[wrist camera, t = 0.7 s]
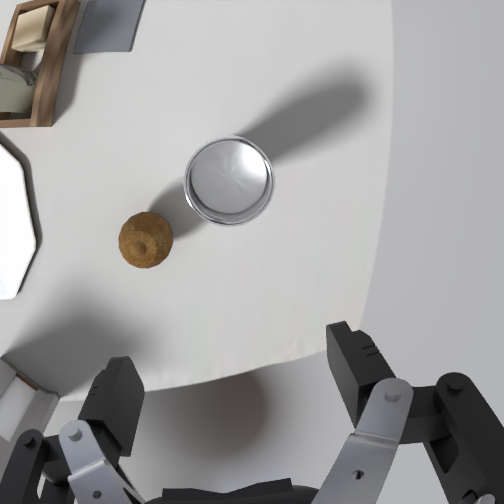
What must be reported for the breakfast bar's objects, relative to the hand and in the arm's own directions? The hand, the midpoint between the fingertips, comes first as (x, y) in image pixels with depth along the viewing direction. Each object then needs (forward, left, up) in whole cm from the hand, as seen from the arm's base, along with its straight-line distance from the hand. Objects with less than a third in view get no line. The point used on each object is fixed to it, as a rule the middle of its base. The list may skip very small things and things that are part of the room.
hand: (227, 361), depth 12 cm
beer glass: (-5, -1, -28) cm, 28 cm away
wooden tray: (-17, -29, -28) cm, 44 cm away
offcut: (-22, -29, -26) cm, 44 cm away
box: (-13, -29, -28) cm, 42 cm away
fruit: (+4, -9, -28) cm, 29 cm away
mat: (-22, -19, -28) cm, 40 cm away
